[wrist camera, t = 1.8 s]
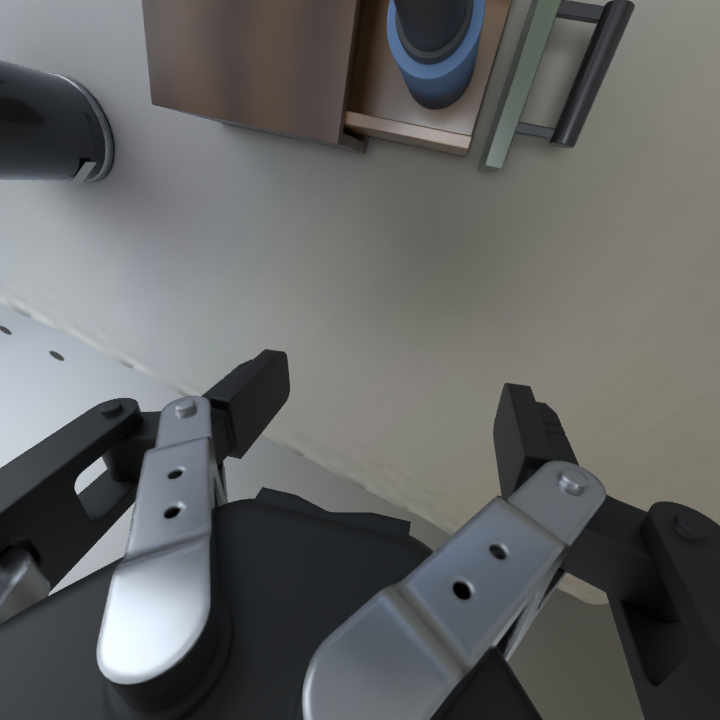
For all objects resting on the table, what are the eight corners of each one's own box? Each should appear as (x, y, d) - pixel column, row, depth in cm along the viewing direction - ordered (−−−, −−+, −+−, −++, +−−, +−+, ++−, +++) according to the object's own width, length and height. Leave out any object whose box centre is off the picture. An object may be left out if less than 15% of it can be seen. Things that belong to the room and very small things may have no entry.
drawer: (623, -9, 22) (685, -79, 16) (543, 183, 28) (568, 183, 22) (364, -47, 24) (336, -120, 18) (339, 139, 30) (312, 129, 24)
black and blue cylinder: (399, 103, 27) (330, -1, 12) (416, 18, 24) (357, -254, 9) (461, 115, 26) (473, 23, 11) (485, 29, 24) (543, -240, 9)
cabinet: (399, -47, 24) (376, -147, 17) (365, 153, 31) (337, 144, 23) (217, -73, 26) (124, -174, 19) (220, 122, 32) (151, 104, 25)
